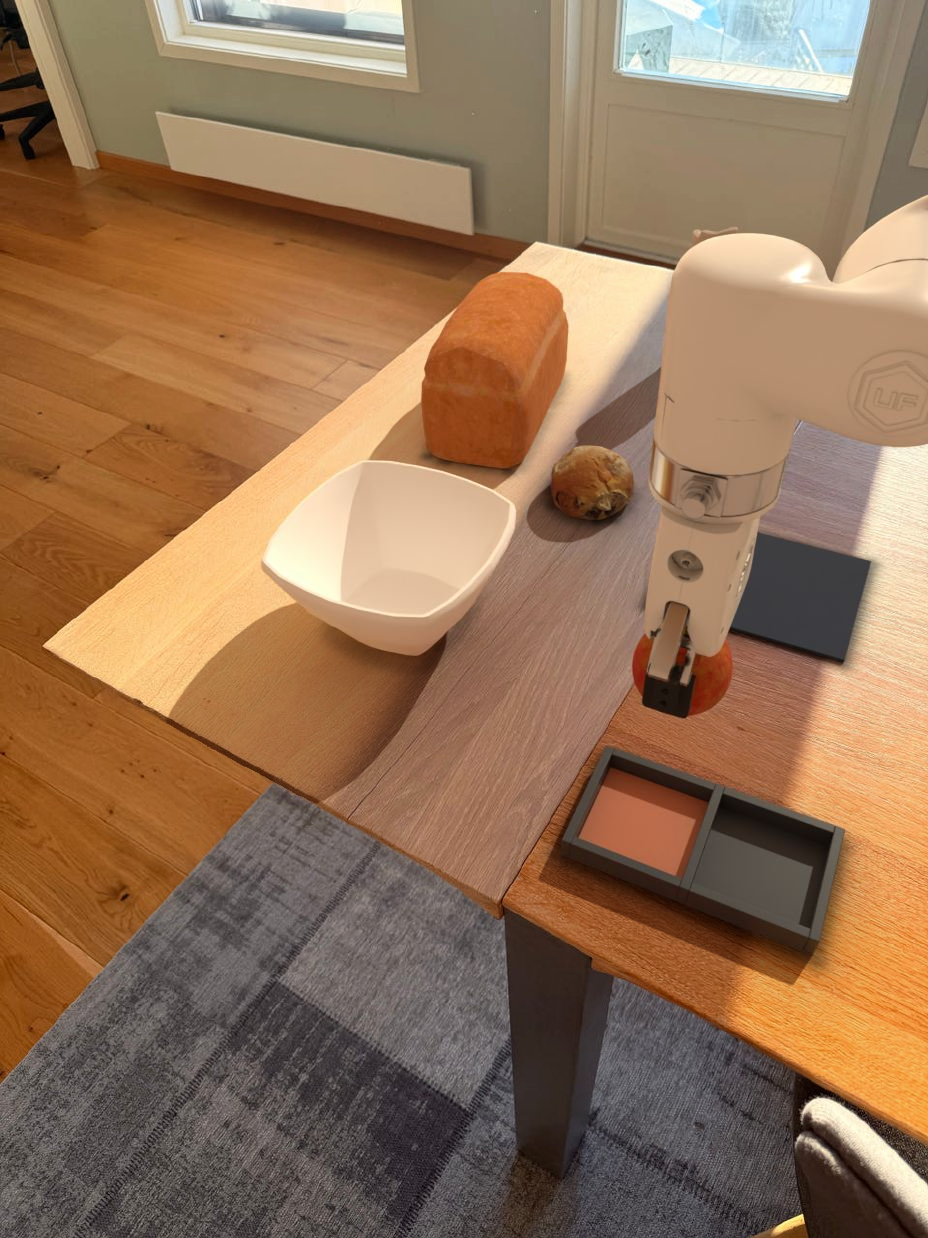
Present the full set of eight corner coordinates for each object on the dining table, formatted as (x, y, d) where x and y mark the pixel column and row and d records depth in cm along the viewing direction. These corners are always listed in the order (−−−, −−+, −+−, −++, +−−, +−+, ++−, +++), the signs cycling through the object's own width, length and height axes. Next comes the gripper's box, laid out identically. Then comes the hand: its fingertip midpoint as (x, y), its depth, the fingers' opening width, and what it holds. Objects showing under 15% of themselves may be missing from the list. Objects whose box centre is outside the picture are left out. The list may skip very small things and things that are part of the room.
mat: (870, 563, 99) (871, 560, 98) (843, 662, 89) (844, 660, 88) (690, 517, 106) (690, 515, 105) (646, 605, 96) (647, 602, 95)
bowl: (368, 527, 107) (355, 444, 98) (540, 581, 99) (542, 496, 91) (254, 652, 93) (229, 568, 85) (443, 726, 85) (435, 641, 77)
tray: (838, 843, 75) (845, 828, 73) (812, 956, 68) (819, 942, 67) (604, 760, 82) (606, 744, 80) (560, 854, 75) (561, 840, 73)
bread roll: (632, 510, 113) (642, 445, 110) (624, 528, 103) (634, 459, 100) (554, 499, 115) (561, 435, 112) (539, 516, 105) (547, 448, 103)
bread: (571, 370, 130) (576, 261, 119) (522, 475, 113) (523, 359, 102) (479, 358, 134) (476, 252, 122) (418, 458, 116) (408, 345, 105)
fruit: (738, 728, 65) (758, 652, 59) (643, 743, 64) (654, 667, 59) (706, 658, 70) (721, 581, 64) (617, 671, 69) (625, 594, 63)
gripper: (745, 574, 46) (699, 781, 58) (813, 401, 56) (762, 607, 69) (603, 538, 48) (589, 743, 61) (694, 379, 59) (665, 581, 71)
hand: (681, 669), depth 65 cm, fingers closed on fruit, 7 cm apart
